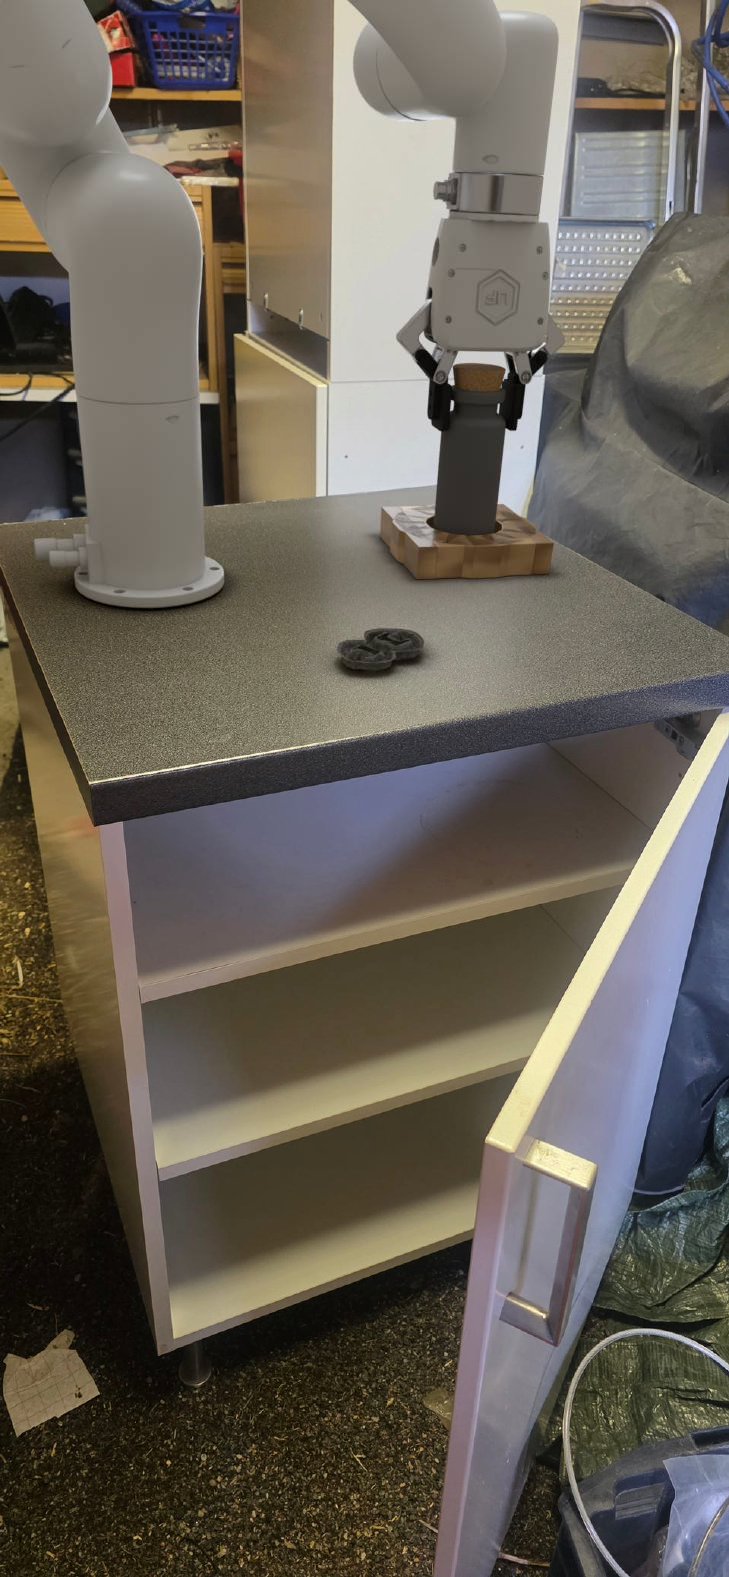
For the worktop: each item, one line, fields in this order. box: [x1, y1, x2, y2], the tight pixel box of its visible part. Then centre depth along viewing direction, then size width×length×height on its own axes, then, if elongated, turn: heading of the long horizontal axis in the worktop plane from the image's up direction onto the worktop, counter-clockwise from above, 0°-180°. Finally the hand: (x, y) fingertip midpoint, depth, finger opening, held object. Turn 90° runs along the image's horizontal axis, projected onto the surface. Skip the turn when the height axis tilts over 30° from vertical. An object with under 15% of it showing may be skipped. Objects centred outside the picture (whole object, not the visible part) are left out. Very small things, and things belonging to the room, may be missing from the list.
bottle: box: [434, 362, 507, 536], centre depth 95 cm, size 6×6×15 cm
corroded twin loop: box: [336, 627, 425, 671], centre depth 77 cm, size 5×8×1 cm, turn 141°
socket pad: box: [379, 503, 555, 580], centre depth 99 cm, size 14×14×3 cm
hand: (473, 426), depth 93 cm, fingers closed on bottle, 5 cm apart
